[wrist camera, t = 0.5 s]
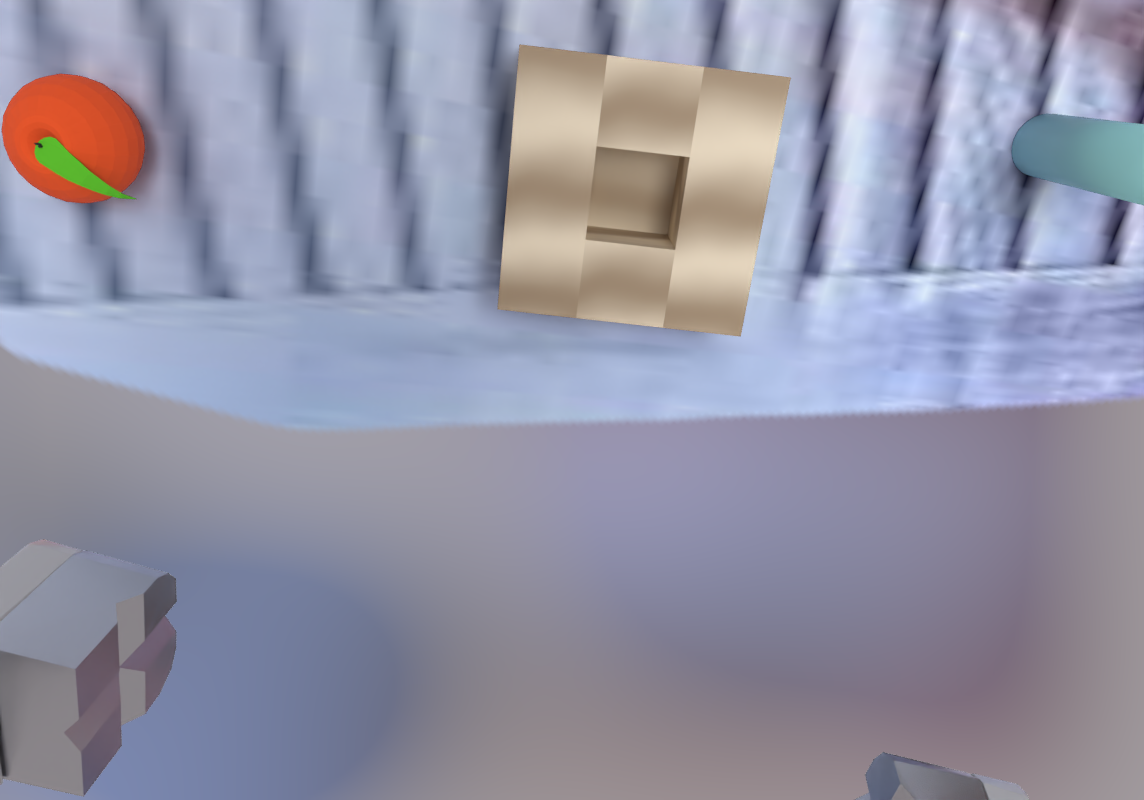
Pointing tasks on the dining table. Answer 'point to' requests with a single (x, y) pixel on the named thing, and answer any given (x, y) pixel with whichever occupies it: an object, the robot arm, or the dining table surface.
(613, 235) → the maple block
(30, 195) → the dining table surface
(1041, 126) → the teal pin
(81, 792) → the robot arm
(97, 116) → the clementine
